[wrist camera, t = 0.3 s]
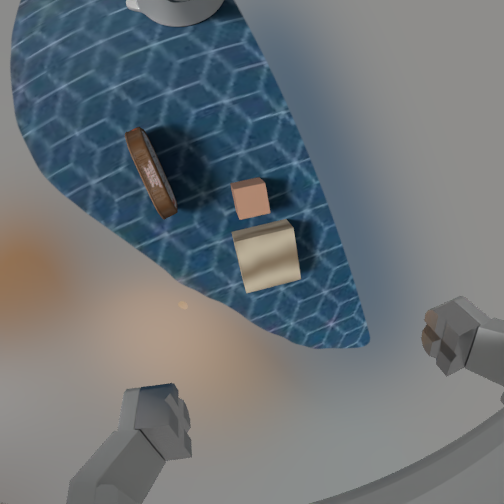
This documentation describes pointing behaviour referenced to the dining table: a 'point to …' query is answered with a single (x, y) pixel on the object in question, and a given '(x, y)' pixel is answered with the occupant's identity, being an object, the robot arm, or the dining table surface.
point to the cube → (250, 198)
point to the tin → (151, 172)
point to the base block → (267, 255)
